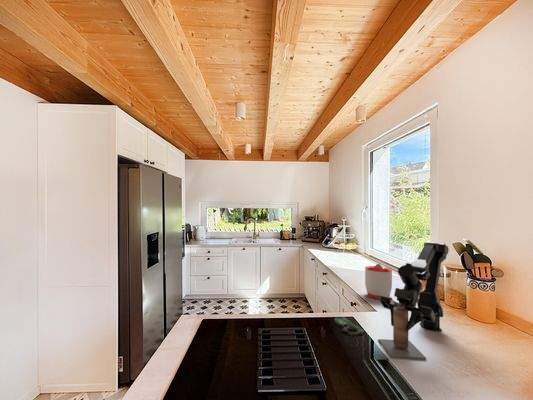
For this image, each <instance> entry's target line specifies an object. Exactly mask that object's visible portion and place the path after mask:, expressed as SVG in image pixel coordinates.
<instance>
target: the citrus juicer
mask: <svg viewBox="0 0 533 400" xmlns="http://www.w3.org/2000/svg"><path fill="white" fill-rule="evenodd" d="M364 275H365V276H364V284H365V289H366V293H367V295H368V296H369V297H370V298H373V299H380V297H381V296H382V295H384V296H388V297H391V296H390V295H391V293H392V287H393V269H392V268H388V267H383V266H382V265H381V264H380V263H376V265H367V266H365V267H364Z"/></svg>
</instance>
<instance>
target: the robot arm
mask: <svg viewBox="0 0 533 400" xmlns="http://www.w3.org/2000/svg"><path fill="white" fill-rule="evenodd" d="M448 254H449V246H448V245H447V244H446V243H440V242H436V241H424V244H423V246H422V250H421V251H420V253H419V255H418V256H417V259H416V260H414V261H411V262H410V263H409V262H405V265H401V266H400V267H399V268H398V269H397V273H398V275H399V277H400V280H401V281H402V283H403V284H404V286H403V288H399V287H395V290H394V296H393V297H396V300H397V301H398V302H396V301H395V300H393V298H392V296H389V297H388V296H384V295H382V296H381V297H380V299H379V300H378V301H379V302H380V303H381V306H382V307H383V309H387V310H389V311H390V324H391V327H393V308H394V307H397V305H403V306H405V309H407V310H408V312H410V316H409V318H408V324H407V327H406V331H408V332H409V331H410V330H411V329H413V328H414V326H416V325H417V324H418V323H419V325H420V326H421V327H422V328H423V329H425V330H426V331H438V332H439V331H440V332H441V331H443V329H442V328H441V327H440V326H441V325H440V324H441V323H440V321H441V319H440V318H443V317H444V309H443V306H442V305H441V300H440V297H439V296H438V287H439V282H440V281H439V280H440V273H441V267H442V262H444V261H445V260H446V259H447V256H448ZM421 281H422V282H425V286H424V290H423V283H422V282H421ZM422 290H423V291H422Z"/></svg>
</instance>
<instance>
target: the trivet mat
mask: <svg viewBox="0 0 533 400" xmlns="http://www.w3.org/2000/svg"><path fill="white" fill-rule="evenodd" d="M378 343H379V345H380V346H381V347H382V346H383V347H382V348H383V350H384V349H385V350H384V351H385V352H386V354H387V353H388V354H387V355H388V356H389V358H390V359H400V360H403V359H404V360H416V361H418V360H420V361H427V357H426V356H425V355H424V354H423V353H422V352H421V351H420V349H419V348H417V346H415V345H414V343H412V342H411V341H410V340H408V348H399V347H397V346H395V345H394V344H393V339H388V338H387V339H384V338H382V339H381V338H378Z"/></svg>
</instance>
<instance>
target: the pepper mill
mask: <svg viewBox="0 0 533 400" xmlns="http://www.w3.org/2000/svg"><path fill="white" fill-rule="evenodd" d="M408 321H409V311H408V310H407V309H405V306H403V305H397V307H394V308H393V326H392V327H393V329H392V330H393V332H392V333H393V339H392V340H393V344H394V345H395V346H397V347H399V348H408V341H409V331H406V327H407V324H408Z"/></svg>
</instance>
